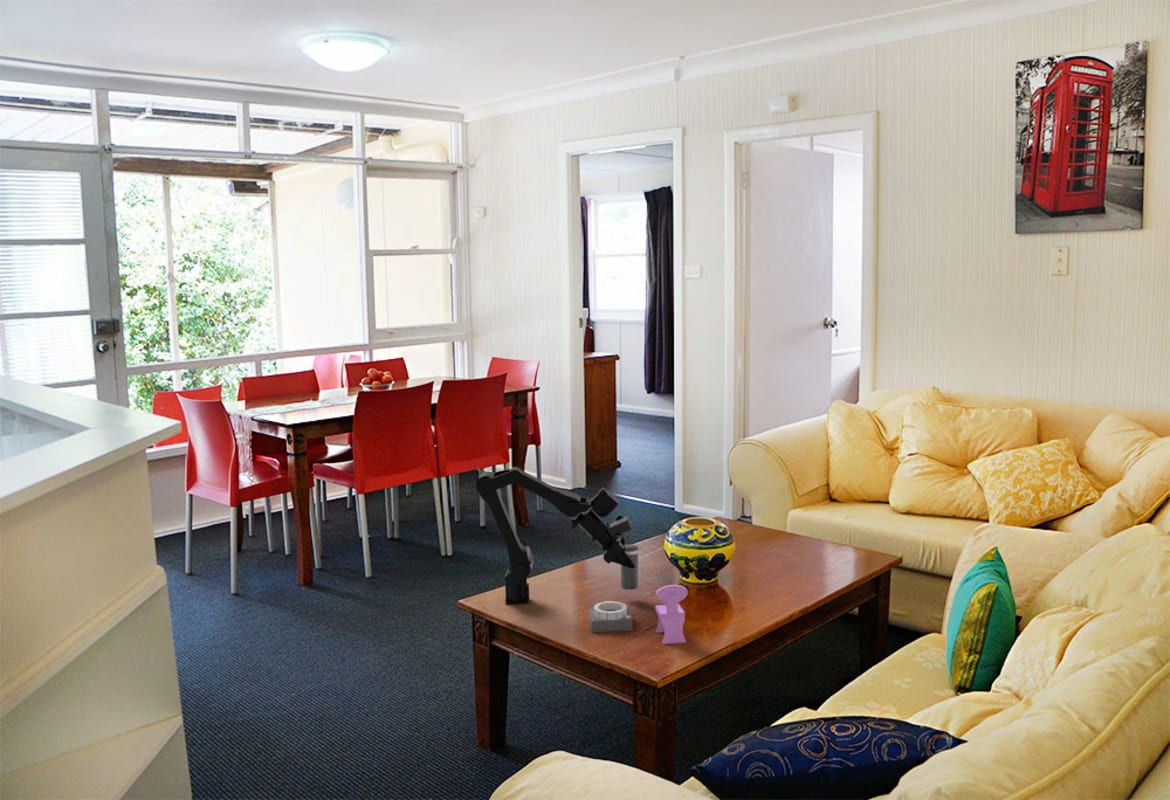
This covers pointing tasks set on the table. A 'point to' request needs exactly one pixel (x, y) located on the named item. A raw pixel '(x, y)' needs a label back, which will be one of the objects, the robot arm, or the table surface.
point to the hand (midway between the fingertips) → (634, 564)
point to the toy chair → (671, 613)
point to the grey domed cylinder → (630, 569)
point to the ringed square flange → (610, 617)
